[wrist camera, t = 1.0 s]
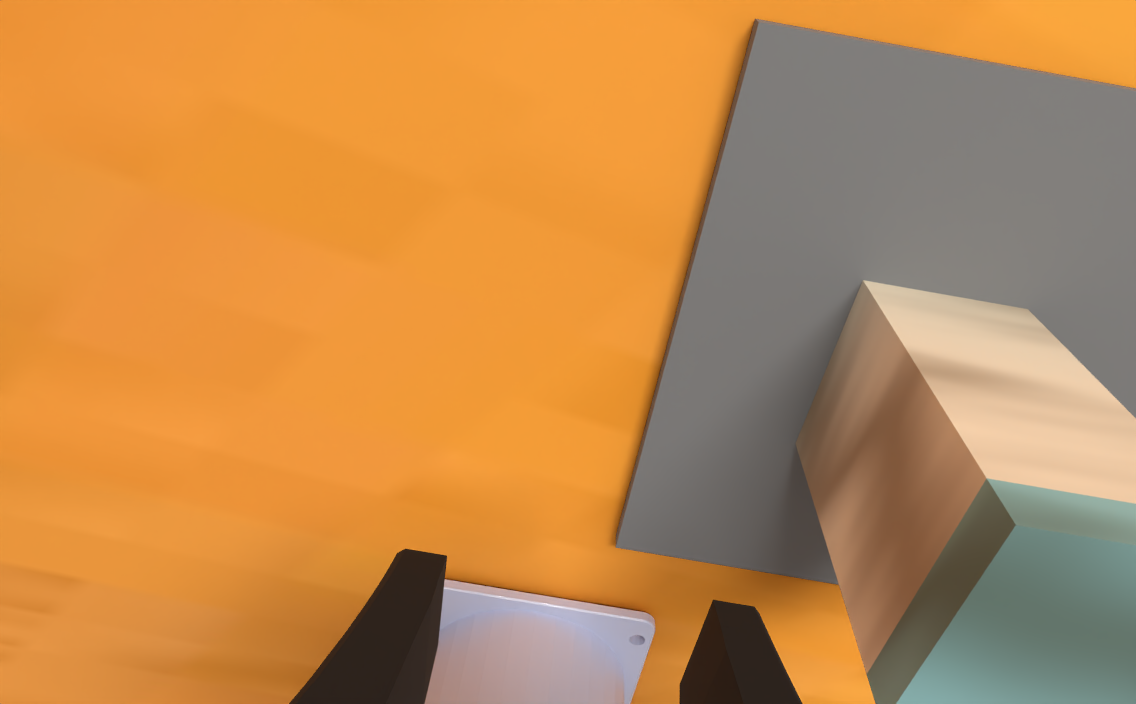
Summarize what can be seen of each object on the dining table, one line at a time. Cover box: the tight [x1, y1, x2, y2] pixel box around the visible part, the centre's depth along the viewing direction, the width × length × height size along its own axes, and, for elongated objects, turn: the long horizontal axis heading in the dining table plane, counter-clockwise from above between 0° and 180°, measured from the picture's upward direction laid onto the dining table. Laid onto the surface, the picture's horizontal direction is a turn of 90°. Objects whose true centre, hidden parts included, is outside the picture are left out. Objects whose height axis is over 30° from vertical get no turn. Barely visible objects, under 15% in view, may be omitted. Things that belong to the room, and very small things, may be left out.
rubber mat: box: [616, 19, 1136, 585], centre depth 19 cm, size 15×18×1 cm
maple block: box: [795, 280, 1136, 704], centre depth 15 cm, size 5×4×8 cm
